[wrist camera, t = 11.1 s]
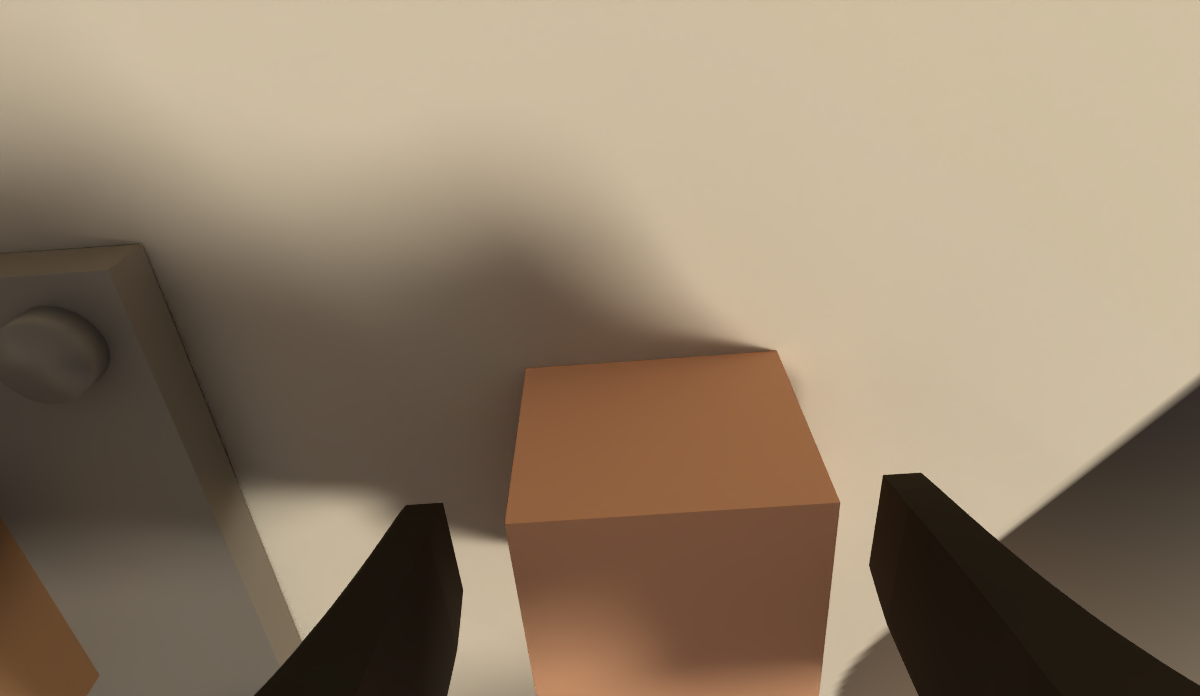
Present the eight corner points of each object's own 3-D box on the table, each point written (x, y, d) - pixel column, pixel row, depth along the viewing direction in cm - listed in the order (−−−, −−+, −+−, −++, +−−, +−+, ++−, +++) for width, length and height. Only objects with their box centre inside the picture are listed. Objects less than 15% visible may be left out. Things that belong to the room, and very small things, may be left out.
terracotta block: (775, 348, 13) (840, 502, 10) (766, 532, 16) (816, 711, 12) (526, 364, 13) (504, 523, 10) (553, 546, 16) (542, 727, 12)
